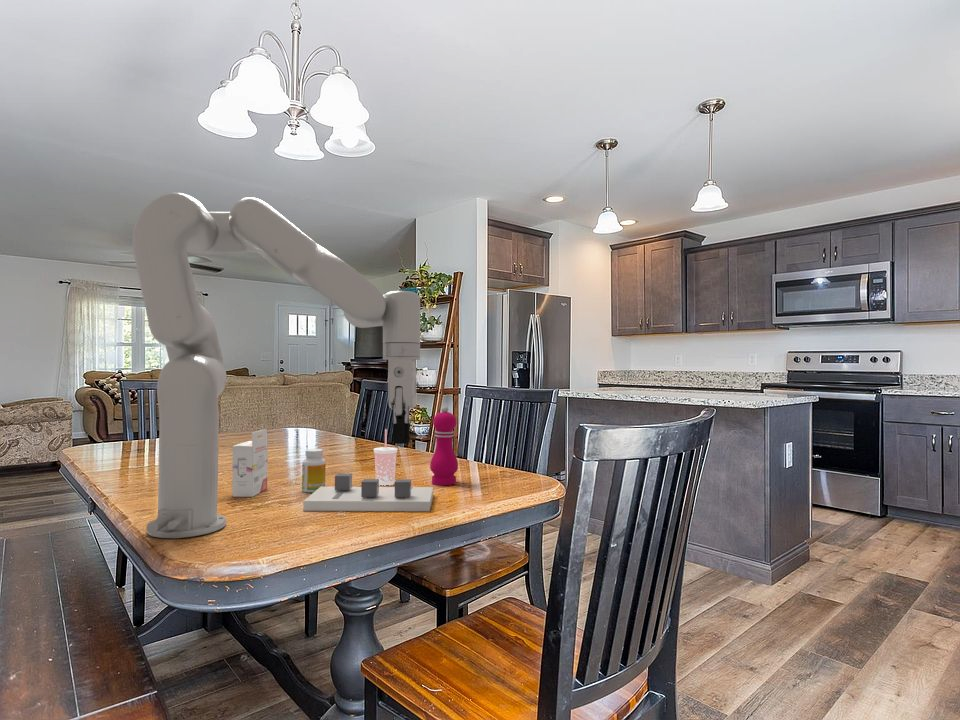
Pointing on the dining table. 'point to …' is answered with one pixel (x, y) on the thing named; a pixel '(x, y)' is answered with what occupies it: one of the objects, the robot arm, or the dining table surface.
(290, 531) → the dining table surface
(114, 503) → the dining table surface
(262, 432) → the ink cartridge box
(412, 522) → the dining table surface
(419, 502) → the switch panel
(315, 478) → the supplement bottle
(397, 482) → the dark gray cube
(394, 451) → the beverage cup
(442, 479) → the pepper mill
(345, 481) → the dark grey cube
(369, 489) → the dark grey cube
